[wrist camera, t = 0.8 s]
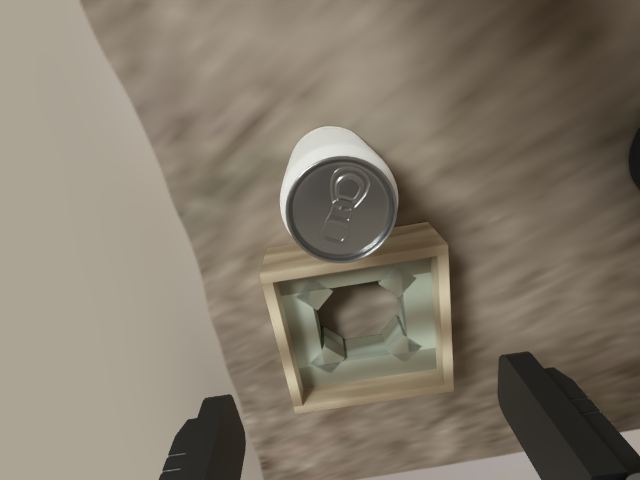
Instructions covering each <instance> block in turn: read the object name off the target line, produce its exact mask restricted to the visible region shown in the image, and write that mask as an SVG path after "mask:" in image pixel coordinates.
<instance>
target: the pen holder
mask: <svg viewBox="0 0 640 480" xmlns="http://www.w3.org/2000/svg"><path fill="white" fill-rule="evenodd" d="M629 164H630V171H631V174H632V177H633V179H634V181H635V183H636V184H637V185H638V187H639V188H640V128H639V130H638V132H637V133H636V135H635V138H634V140H633V142H632V146H631V149H630V156H629Z"/></svg>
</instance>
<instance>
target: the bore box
mask: <svg viewBox="0 0 640 480" xmlns="http://www.w3.org/2000/svg"><path fill="white" fill-rule="evenodd" d="M260 278H261V282H262V286H263V290H264V294H265V298H266V302H267V305H268V309H269V313H270V317H271V321H272V325H273V329H274V332H275V336H276V340H277V344H278V348H279V352H280V356H281V359H282V363H283V367H284V371H285V375H286V379H287V383H288V386H289V390H290V394H291V398H292V402H293V406H294V410H295V413H296V414H297V413H304V412H311V411H318V410H325V409H332V408H339V407H345V406H352V405H359V404H366V403H373V402H380V401H386V400H393V399H400V398H407V397H414V396H421V395H428V394H434V393H441V392H448V391H454V380H453V355H452V330H451V305H450V280H449V256H448V244H447V243H446V241H445V240H444V239H443V238H442V237H441V236H440V235H439V234H438V233H437V231H436V230H435V229H434V228H433V227H432V226H431V225H430V224H429V223H428V222H423V223H417V224H411V225H405V226H399V227H394V228H393V230H392V232H391V234H390V236H389V238H388V239H387V240H386V242H385V243H384V244H383V245H382V246H381V247H380V248H379V249H378V250H377V251H375V252H374V253H373V254H371V255H369V256H368V257H366V258H363V259H361V260H358V261H355V262H350V263H329V262H325V261H322V260H319V259H317V258H314V257H313V256H311V255H309V254H308V253H306V252H305V251H304V250H303V249H302V248H301V247H300V246H299V245H298V244H297V243H296V244H290V245H284V246H278V247H272V248H267V250H266V254H265V257H264V261H263V264H262V268H261V272H260ZM373 281H378V283H379V285H381V286H382V287H384V288H386V289H387V290H389V291H390V292H392V293H393V294H395V295H396V296H398V306H399V316H400V318H399V317H398V316H395V317H394V318H393V319H392V320H391V321H390V322H389V323H388V325H387V326H386V327H385V328H384V329H383V330H382V331H381V332H382V334H380V335H374V336H367V337H361V338H354V339H348V340H343V339H342V337H341V336H339V335H337V334H336V333H334V332H332V331H330V330H329V329H327V328H325V327H323V328H322V329H321V328H320V323H319V318H318V313H317V310H318V309H319V308H320V307H321V306H322V304H323V303H324V302H325V301H326V300H327V298H328V297H329V296H330V295H331V293H332V292H333V288H335V287H342V286H348V285H354V284H361V283H367V282H373Z"/></svg>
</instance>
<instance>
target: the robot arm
mask: <svg viewBox="0 0 640 480" xmlns="http://www.w3.org/2000/svg"><path fill="white" fill-rule="evenodd" d="M498 400H499V404H500V407H501V410H502V412H503V415H504V416H505V418H506V420H507V422H508V423H509V425H510V427H511V429H512V430H513V432H514V434H515V435H516V437H517V439H518V441H519V442H520V444H521V446H522V447H523V449H524V451H525V453H526V454H527V456H528V458H529V459H530V461H531V463H532V465H533V466H534V468H535V469H536V471H537V473H538V475H539V476H540V478H541V480H640V456H639V455H638V454H637V452H636V451H635V450H634V449H633V448H632V447H631V446H630V445H629V443H628V442H627V441H626V440H625V439H624V438H623V437H622V435H621V434H620V433H619V432H618V431H617V430H616V429H615V427H614V426H613V425H612V424H611V423H610V422H609V421H608V420H607V418H606V417H605V416H604V415H603V414H601V413H600V412H599V409H598V408H597V407H596V406H595V405H594V404H593V402H592V401H591V400H588V398H587V396H586V395H585V393H584V392H583V391H582V390H581V389H580V388H579V387H578V385H577V384H576V383H575V382H574V381H573V380H572V379H570V378H569V377H567V376H566V375H564V374H563V373H561V372H559V371H558V370H556V369H555V368H553V367H552V368H545V369H544V368H543V367H542V366H541V365H540V364H539V362H538V361H537V360H536V359H535V357H534V356H533V355H532V354H531V353H530V352H527V351H526V352H520V353H513V354H506V355H501V356H500V357H499V369H498ZM245 446H246V442H245V432H244V428H243V425H242V422H241V419H240V417H239V413H238V411H237V408H236V405H235V402H234V399H233V397H232V395H230V394H229V395H223V396H215V397H208V398H205V399H204V400H203V402H202V405H201V408H200V412H199V414H198V417H197V418H195V419H188V420H187V422H186V423H185V424H184V425H183V427H182V428H181V429H180V431H179V432H178V433H177V435H176V436H175V438H174V441H173V443H172V446H171V449H170V451H169V454H168V455H169V457H168V458H167V459H166V462H165V465H164V467H163V473H162V474H161V475H160V478H159V480H240V478H241V472H242V466H243V461H244V455H245Z"/></svg>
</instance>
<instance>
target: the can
mask: <svg viewBox="0 0 640 480" xmlns="http://www.w3.org/2000/svg"><path fill="white" fill-rule="evenodd" d="M280 208H281V214H282V218H283V221H284V224H285V226H286V228H287V230H288V231H289V233H290V234H291V236H292V237H293V239H294V240H295V242H296V243H297V244H298V245H299V246H300V247H301V248H302V249H303V250H304V251H305V252H306V253H308V254H309V255H311V256H313V257H314V258H317V259H319V260H322V261H325V262H329V263H350V262H355V261H358V260H361V259H363V258H366V257H368V256H369V255H371V254H373V253H374V252H375V251H377V250H378V249H379V248H380V247H381V246H382V245H383V244H384V243H385V242H386V240H387V239H388V238H389V236H390V234H391V232H392V230H393V228H394V225H395V222H396V218H397V209H398V190H397V185H396V182H395V179H394V177H393V175H392V173H391V171H390V169H389V168H388V166H387V165H386V164H385V162H384V161H383V160H382V159H381V158H380V157H379V156H378V155H377V154H376V153H375V152H374V151H373V150H372V149H371V148H370V147H369V146H368V145H367V144H366V143H365V142H364V141H363V140H362V139H360V138H359V137H358V136H357V135H356V134H354V133H353V132H351V131H350V130H347V129H344V128H340V127H331V126H329V127H321V128H317V129H315V130H313V131H311V132H309V133H308V134H306V135H305V136H304V137H303V138H302V139H301V140H300V141H299V142H298V143H297V145H296V146H295V148H294V150H293V152H292V155H291V157H290V160H289V164H288V167H287V170H286V173H285V177H284V180H283V184H282V188H281V194H280Z"/></svg>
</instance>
